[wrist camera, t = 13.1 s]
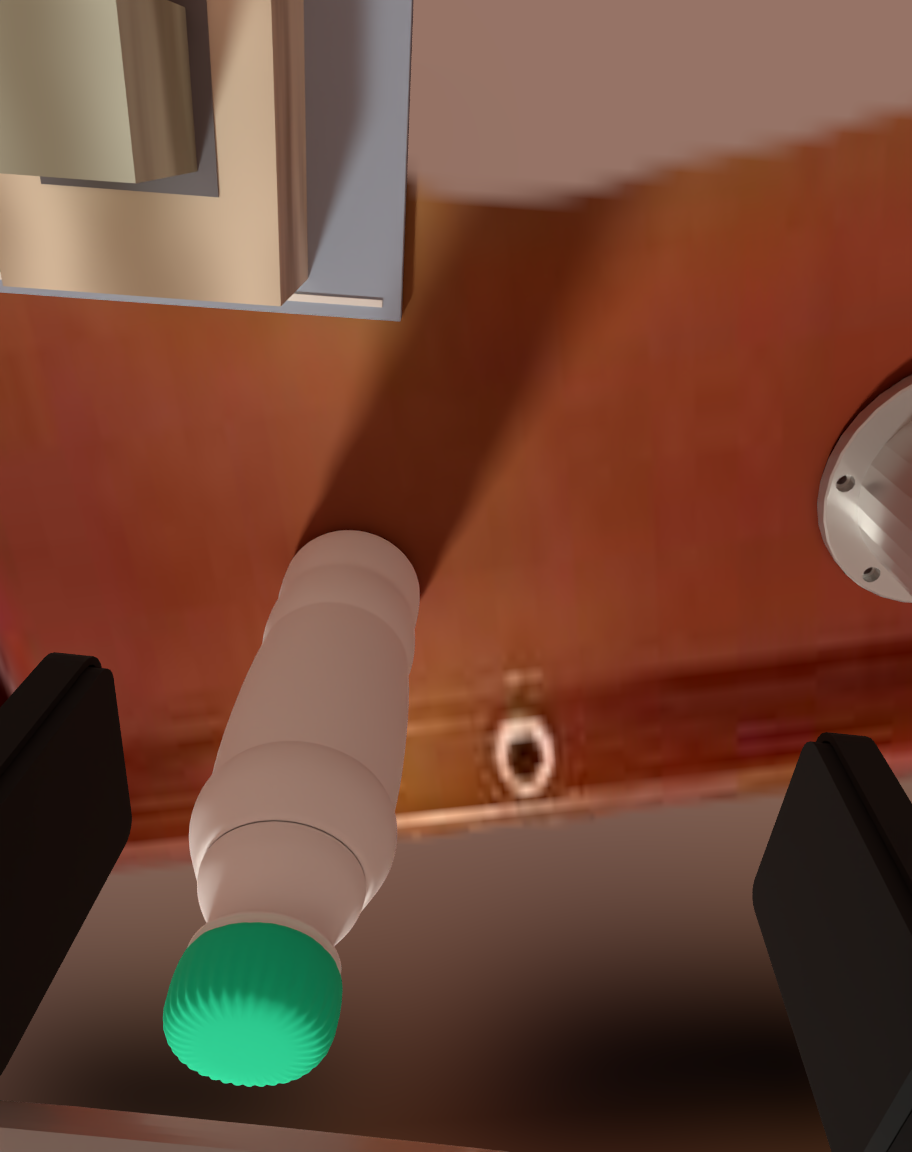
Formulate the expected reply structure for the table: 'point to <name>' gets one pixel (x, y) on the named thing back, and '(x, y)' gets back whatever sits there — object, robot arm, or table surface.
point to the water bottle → (298, 815)
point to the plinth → (189, 183)
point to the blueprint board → (344, 164)
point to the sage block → (95, 90)
